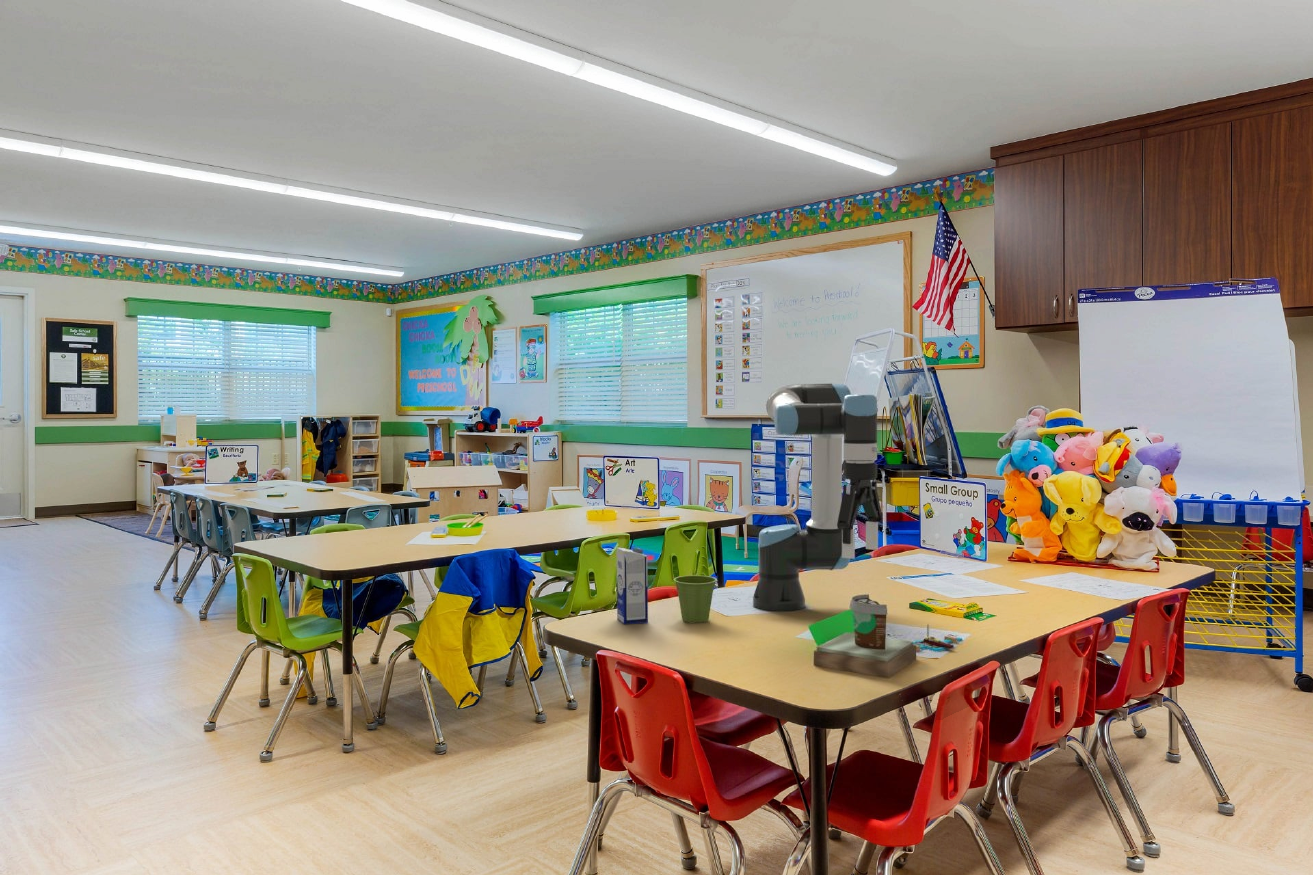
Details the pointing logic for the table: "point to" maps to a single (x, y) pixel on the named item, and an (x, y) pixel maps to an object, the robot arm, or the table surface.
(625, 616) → the milk carton
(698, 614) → the plant pot
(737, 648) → the table surface
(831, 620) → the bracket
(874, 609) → the food container
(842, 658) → the stand
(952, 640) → the toy boat
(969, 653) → the table surface
